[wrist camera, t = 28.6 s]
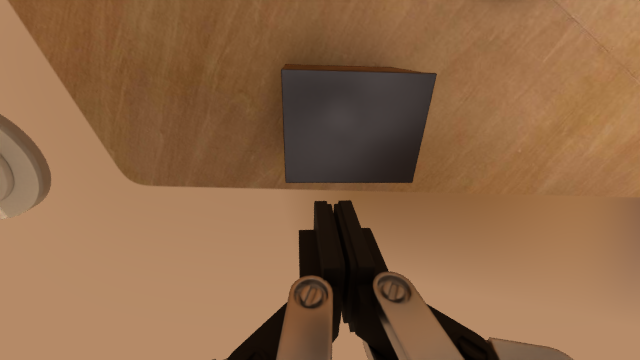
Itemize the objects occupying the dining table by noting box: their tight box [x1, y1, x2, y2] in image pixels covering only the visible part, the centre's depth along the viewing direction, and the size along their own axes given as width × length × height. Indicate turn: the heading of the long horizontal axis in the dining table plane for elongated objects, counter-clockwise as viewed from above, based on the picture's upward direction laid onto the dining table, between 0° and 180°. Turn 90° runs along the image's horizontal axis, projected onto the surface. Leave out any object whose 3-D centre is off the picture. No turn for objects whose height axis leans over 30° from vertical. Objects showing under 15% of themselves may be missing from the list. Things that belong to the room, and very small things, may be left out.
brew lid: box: [281, 69, 437, 183], centre depth 26 cm, size 14×12×1 cm
